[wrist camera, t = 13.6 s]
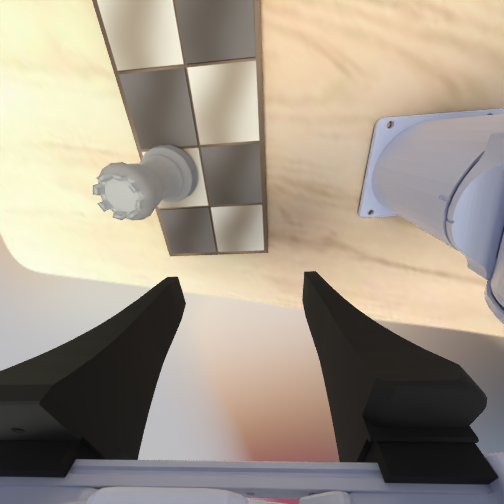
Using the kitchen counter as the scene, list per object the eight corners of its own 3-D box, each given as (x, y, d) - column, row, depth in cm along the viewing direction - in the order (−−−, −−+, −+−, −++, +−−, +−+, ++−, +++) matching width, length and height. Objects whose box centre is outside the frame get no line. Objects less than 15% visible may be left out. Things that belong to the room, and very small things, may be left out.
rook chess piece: (206, 192, 19) (173, 226, 12) (162, 204, 19) (106, 243, 12) (186, 137, 16) (131, 138, 10) (137, 153, 17) (53, 165, 10)
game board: (257, -56, 12) (257, -70, 11) (267, 248, 22) (268, 253, 21) (89, -32, 13) (76, -44, 12) (172, 252, 23) (169, 257, 22)
